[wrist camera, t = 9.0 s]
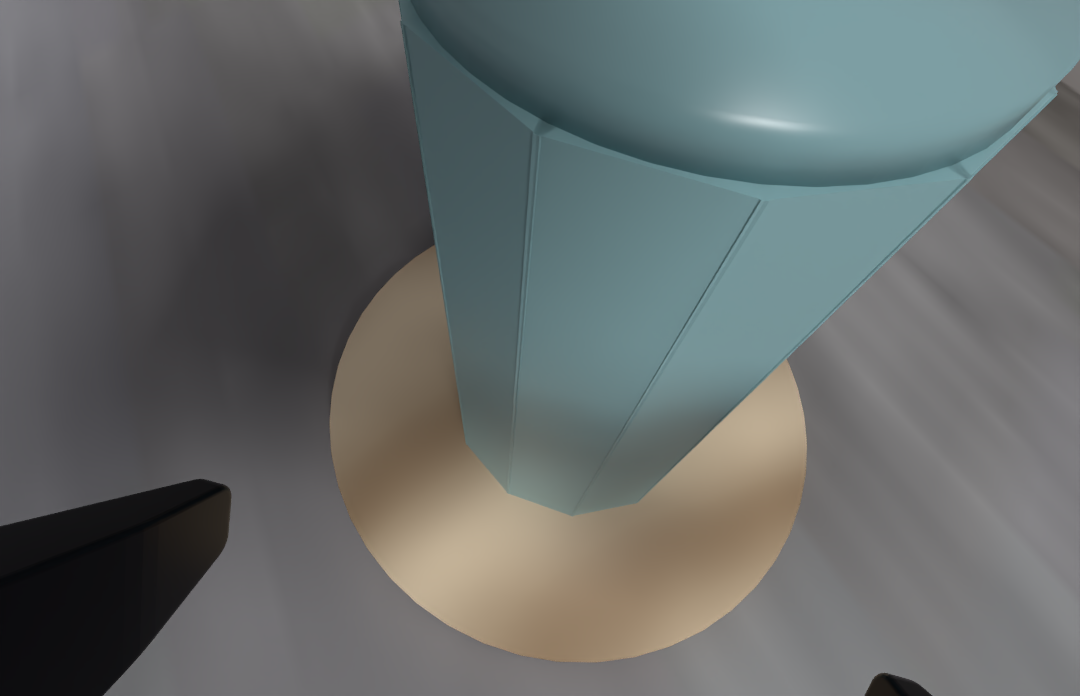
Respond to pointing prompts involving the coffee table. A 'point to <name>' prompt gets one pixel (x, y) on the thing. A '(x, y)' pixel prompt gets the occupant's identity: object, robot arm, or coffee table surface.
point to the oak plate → (540, 532)
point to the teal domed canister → (685, 198)
